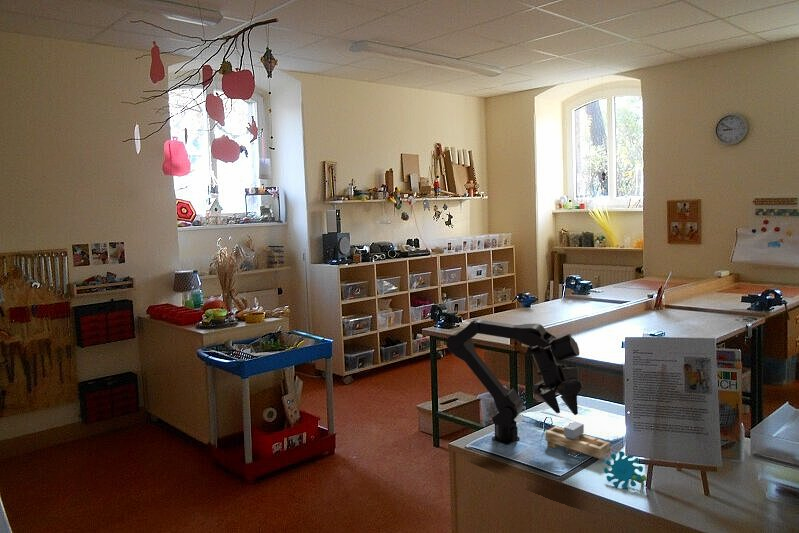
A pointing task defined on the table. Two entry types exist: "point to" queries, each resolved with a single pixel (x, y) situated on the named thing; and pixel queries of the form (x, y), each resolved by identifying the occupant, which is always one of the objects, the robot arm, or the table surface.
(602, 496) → the table surface
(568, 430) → the white rectangular block
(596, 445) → the beam
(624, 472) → the gear
